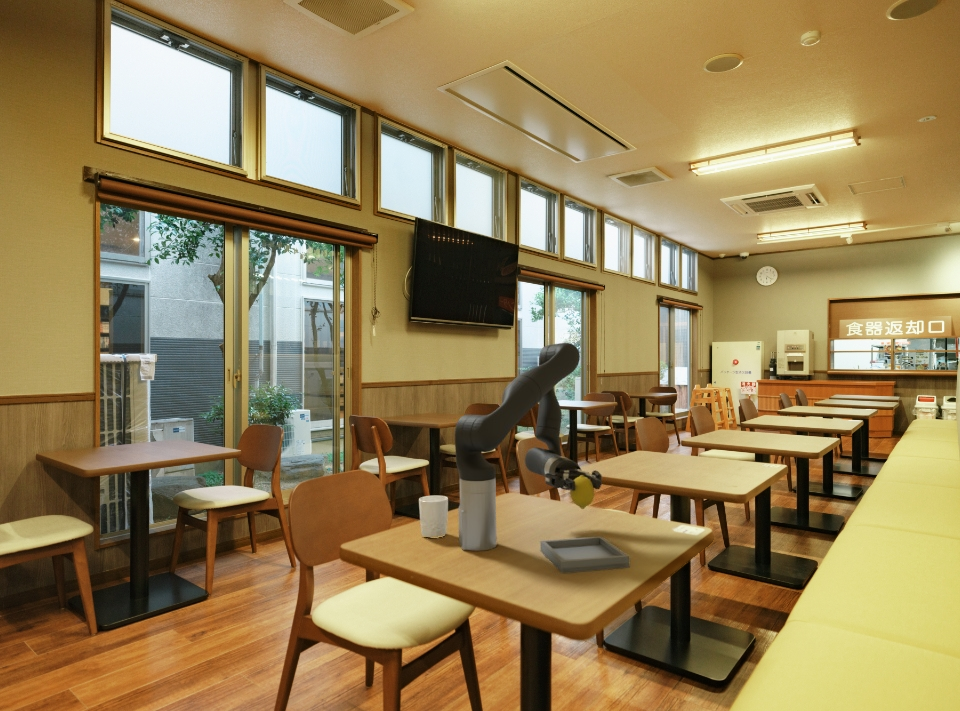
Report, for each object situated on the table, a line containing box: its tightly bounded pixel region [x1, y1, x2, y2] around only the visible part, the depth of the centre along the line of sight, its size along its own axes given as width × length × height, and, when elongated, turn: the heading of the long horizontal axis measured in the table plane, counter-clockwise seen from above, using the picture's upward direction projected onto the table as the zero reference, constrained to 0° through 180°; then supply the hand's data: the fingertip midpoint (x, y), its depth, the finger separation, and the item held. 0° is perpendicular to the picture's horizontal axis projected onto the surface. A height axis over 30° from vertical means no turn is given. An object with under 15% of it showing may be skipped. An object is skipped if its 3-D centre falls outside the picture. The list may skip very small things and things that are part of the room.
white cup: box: [418, 494, 449, 537], centre depth 161 cm, size 8×8×10 cm
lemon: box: [570, 475, 595, 510], centre depth 140 cm, size 6×6×8 cm
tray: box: [539, 535, 631, 574], centre depth 140 cm, size 16×16×2 cm
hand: (586, 485), depth 138 cm, fingers closed on lemon, 5 cm apart
